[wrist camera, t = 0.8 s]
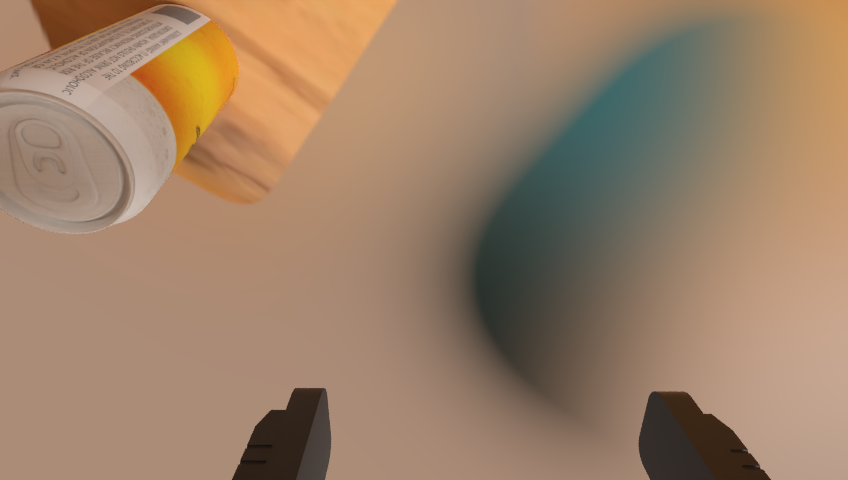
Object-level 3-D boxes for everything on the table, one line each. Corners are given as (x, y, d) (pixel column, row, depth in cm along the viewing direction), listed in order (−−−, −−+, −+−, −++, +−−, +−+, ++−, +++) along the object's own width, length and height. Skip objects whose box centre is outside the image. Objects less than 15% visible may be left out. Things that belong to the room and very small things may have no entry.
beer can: (141, 100, 30) (-25, 235, 17) (124, -8, 26) (-95, 64, 14) (243, 114, 31) (155, 250, 18) (239, 11, 27) (129, 94, 15)
